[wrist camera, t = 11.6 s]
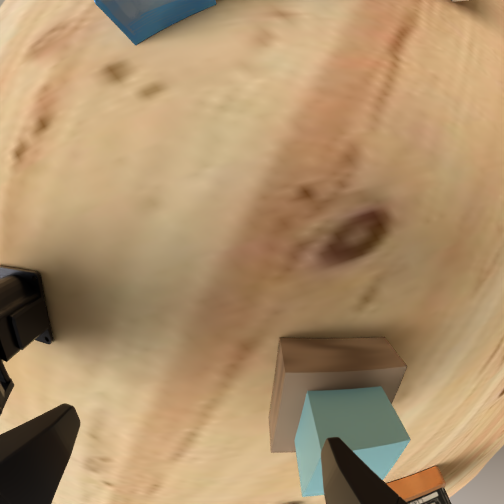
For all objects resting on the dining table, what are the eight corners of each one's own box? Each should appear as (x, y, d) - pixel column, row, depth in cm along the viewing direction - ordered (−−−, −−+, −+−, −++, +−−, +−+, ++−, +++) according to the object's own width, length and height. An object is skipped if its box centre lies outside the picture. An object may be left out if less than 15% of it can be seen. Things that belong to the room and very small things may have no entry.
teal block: (294, 440, 17) (302, 496, 12) (307, 390, 15) (321, 453, 11) (360, 435, 17) (378, 485, 12) (381, 386, 15) (410, 439, 11)
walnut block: (268, 416, 21) (270, 452, 17) (279, 337, 19) (285, 372, 15) (358, 412, 21) (371, 444, 17) (384, 337, 19) (407, 366, 15)
